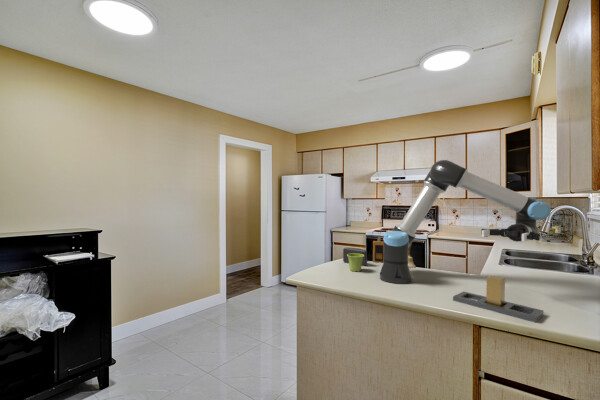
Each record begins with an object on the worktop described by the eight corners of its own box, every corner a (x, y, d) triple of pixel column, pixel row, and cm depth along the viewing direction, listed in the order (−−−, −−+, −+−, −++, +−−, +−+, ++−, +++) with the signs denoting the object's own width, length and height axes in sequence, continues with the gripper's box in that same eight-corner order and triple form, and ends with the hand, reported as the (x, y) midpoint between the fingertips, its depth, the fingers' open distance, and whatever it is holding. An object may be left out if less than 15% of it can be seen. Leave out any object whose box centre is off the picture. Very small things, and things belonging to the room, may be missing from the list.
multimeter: (389, 259, 191) (389, 229, 191) (390, 263, 181) (391, 231, 181) (366, 258, 194) (366, 228, 194) (366, 261, 184) (367, 230, 184)
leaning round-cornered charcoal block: (369, 265, 174) (369, 249, 174) (365, 266, 171) (366, 250, 171) (346, 261, 185) (346, 246, 185) (342, 262, 182) (342, 247, 182)
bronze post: (486, 306, 108) (486, 277, 108) (490, 304, 111) (491, 275, 111) (500, 310, 105) (500, 280, 105) (504, 307, 107) (504, 278, 107)
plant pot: (367, 270, 161) (367, 255, 161) (357, 273, 155) (357, 257, 155) (353, 267, 168) (353, 252, 168) (343, 270, 162) (343, 254, 161)
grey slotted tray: (453, 300, 115) (453, 296, 115) (463, 295, 121) (463, 291, 121) (535, 322, 94) (535, 317, 94) (543, 315, 101) (543, 310, 101)
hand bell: (409, 264, 178) (409, 238, 178) (418, 267, 171) (419, 240, 171) (398, 265, 176) (398, 238, 176) (407, 268, 168) (407, 240, 168)
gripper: (555, 244, 118) (541, 249, 105) (486, 237, 138) (468, 240, 125) (556, 226, 118) (542, 229, 105) (487, 221, 138) (468, 223, 125)
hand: (501, 235), depth 115 cm, fingers open, 13 cm apart
